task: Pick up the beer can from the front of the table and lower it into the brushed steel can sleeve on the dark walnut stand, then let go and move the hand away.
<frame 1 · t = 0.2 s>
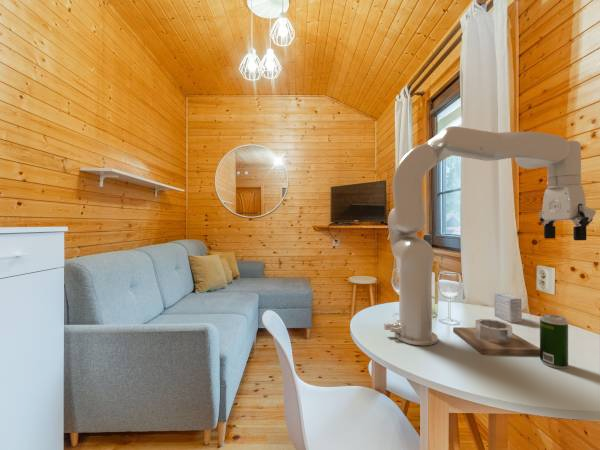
hand: (564, 239, 87), 31 cm above the table, tool pointing down, fingers open, 9 cm apart
beer can: (553, 365, 73), on the table
can sleeve: (493, 330, 86), on the walnut stand, point 4 cm above the table
medicine box: (507, 319, 106), on the table
walnut stand: (493, 342, 86), on the table
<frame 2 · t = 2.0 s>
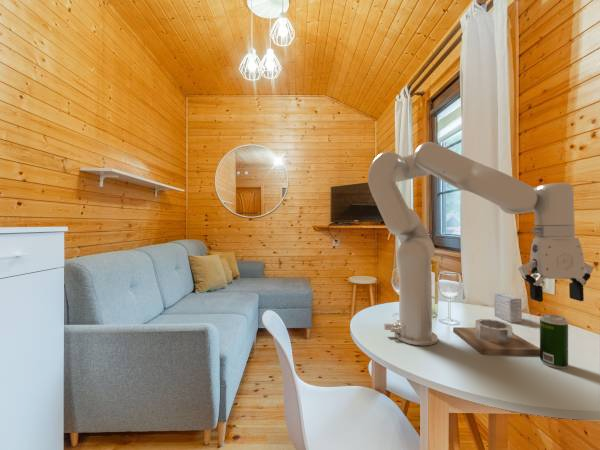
hand: (556, 300, 72), 16 cm above the table, tool pointing down, fingers open, 9 cm apart
nothing on the table moved.
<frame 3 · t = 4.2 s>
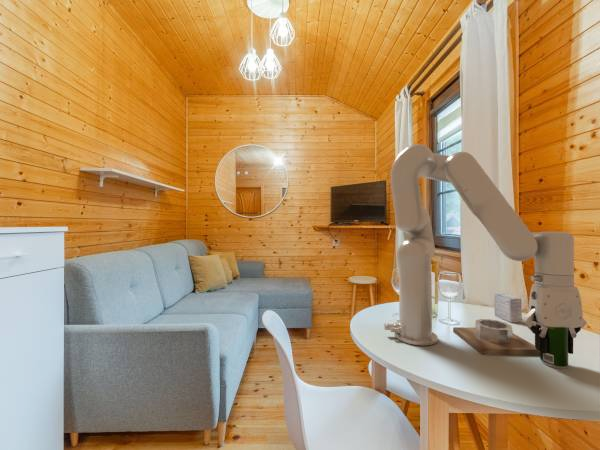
hand: (553, 350, 73), 3 cm above the table, tool pointing down, fingers closed on beer can, 5 cm apart
beer can: (553, 365, 73), on the table, touching gripper
everything else where it was.
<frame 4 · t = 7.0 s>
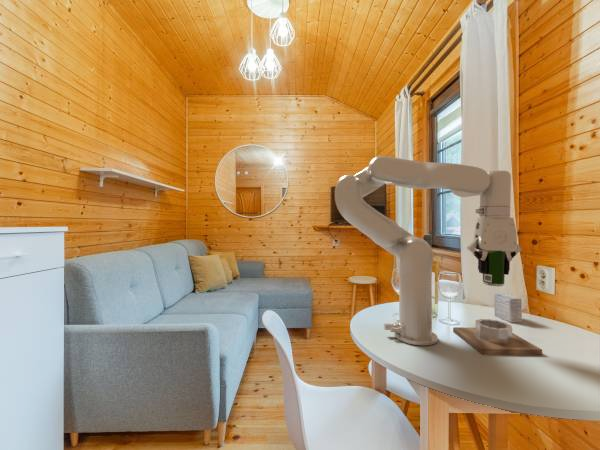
hand: (493, 272, 85), 21 cm above the table, tool pointing down, fingers closed on beer can, 5 cm apart
beer can: (493, 285, 85), point 17 cm above the table, touching gripper
everything else where it was.
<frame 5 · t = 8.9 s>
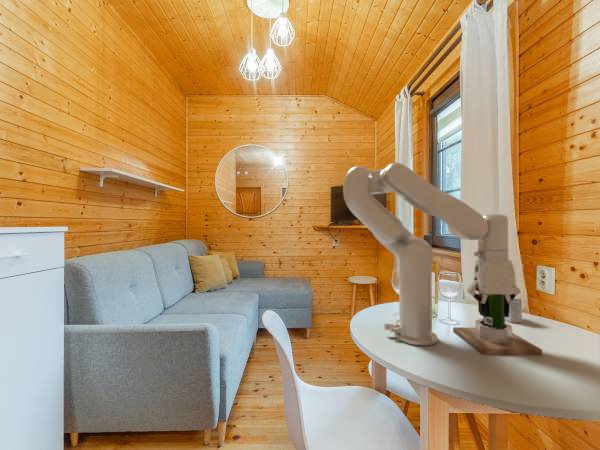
hand: (493, 315, 86), 8 cm above the table, tool pointing down, fingers closed on beer can, 5 cm apart
beer can: (494, 327, 86), point 5 cm above the table, touching gripper
everything else where it was.
when the fingers open (6 cm above the table, at t = 10.3 s): beer can drops 1 cm, resting on walnut stand.
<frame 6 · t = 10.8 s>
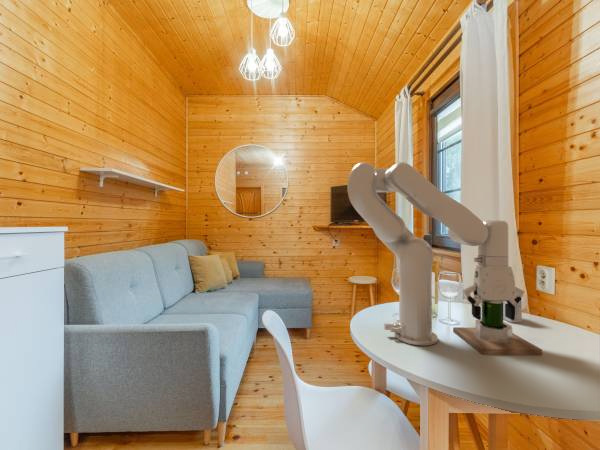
hand: (493, 318, 86), 7 cm above the table, tool pointing down, fingers open, 9 cm apart
beer can: (492, 337, 86), point 1 cm above the table, touching walnut stand
everything else where it was.
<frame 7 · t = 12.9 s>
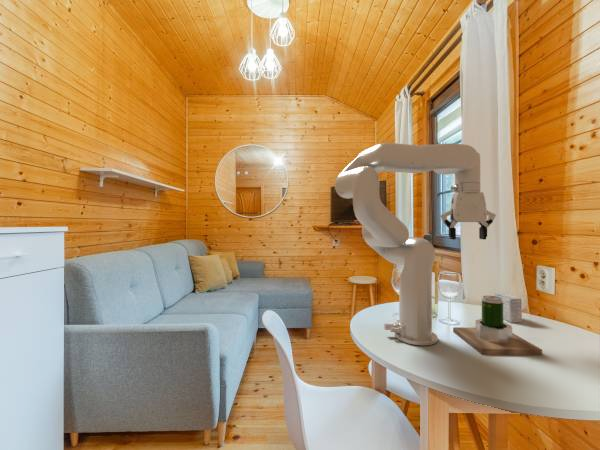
hand: (467, 239, 97), 30 cm above the table, tool pointing down, fingers open, 9 cm apart
nothing on the table moved.
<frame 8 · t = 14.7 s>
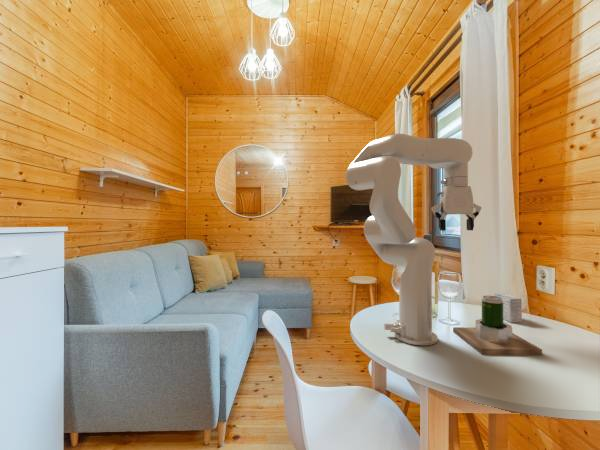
hand: (456, 230, 104), 33 cm above the table, tool pointing down, fingers open, 9 cm apart
nothing on the table moved.
at the end: beer can 0.2 cm off-centre on the can sleeve, point 1.3 cm above the can sleeve's base; beer can tilted 0°; the gripper is holding nothing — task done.
